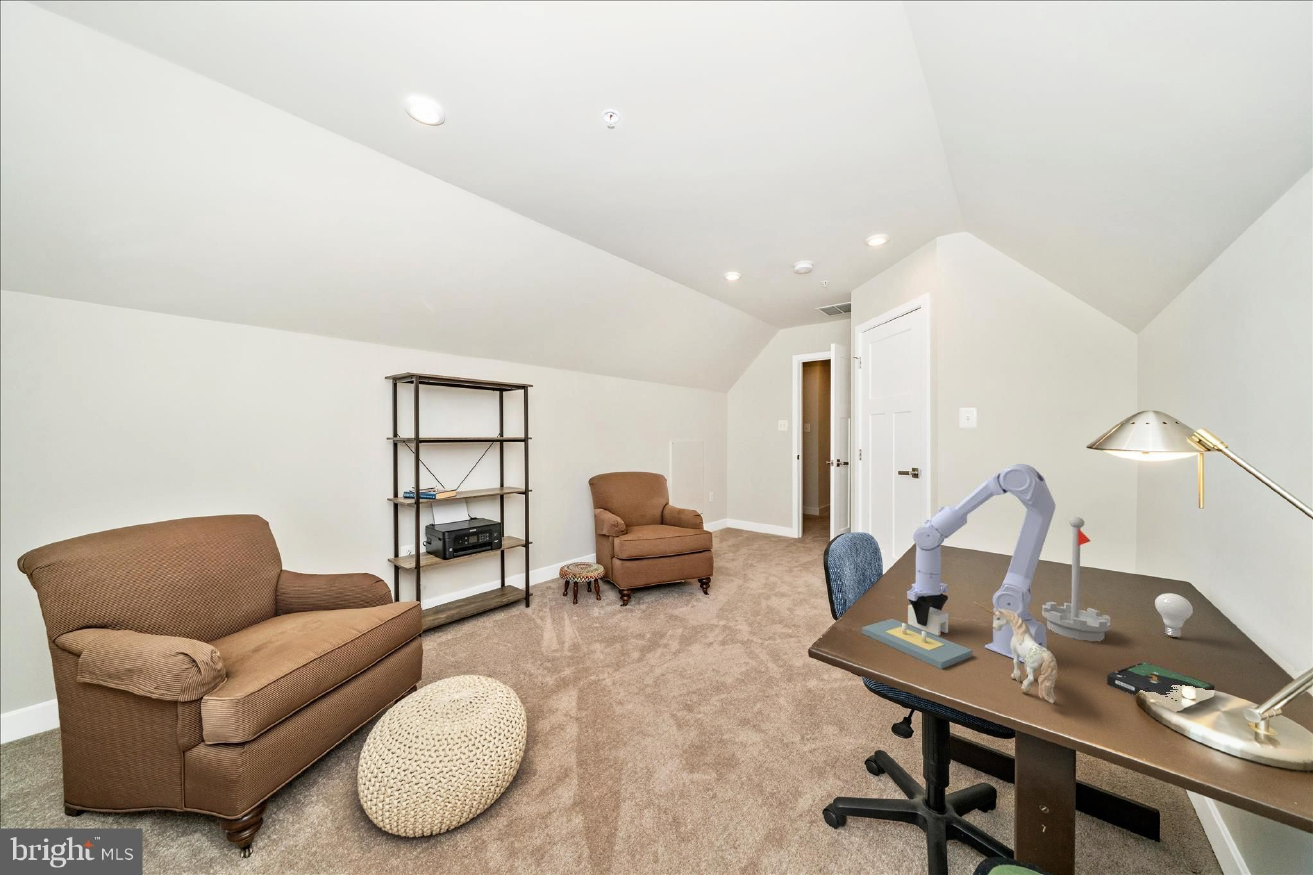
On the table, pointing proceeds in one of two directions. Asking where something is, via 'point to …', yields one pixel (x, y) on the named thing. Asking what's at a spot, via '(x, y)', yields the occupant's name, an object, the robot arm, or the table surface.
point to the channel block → (930, 621)
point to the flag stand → (1076, 601)
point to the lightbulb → (1173, 612)
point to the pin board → (917, 643)
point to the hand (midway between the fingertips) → (927, 622)
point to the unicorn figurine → (1027, 654)
